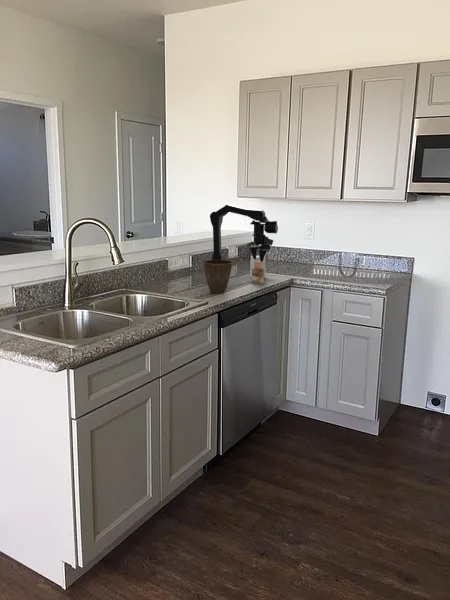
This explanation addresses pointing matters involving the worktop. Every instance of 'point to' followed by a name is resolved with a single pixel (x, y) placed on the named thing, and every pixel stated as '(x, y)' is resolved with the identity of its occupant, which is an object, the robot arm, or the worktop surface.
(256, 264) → the peach rounded piece
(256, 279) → the maple cube
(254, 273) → the walnut cube
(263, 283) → the pad
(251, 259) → the supplement box
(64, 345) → the worktop surface
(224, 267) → the plant pot
